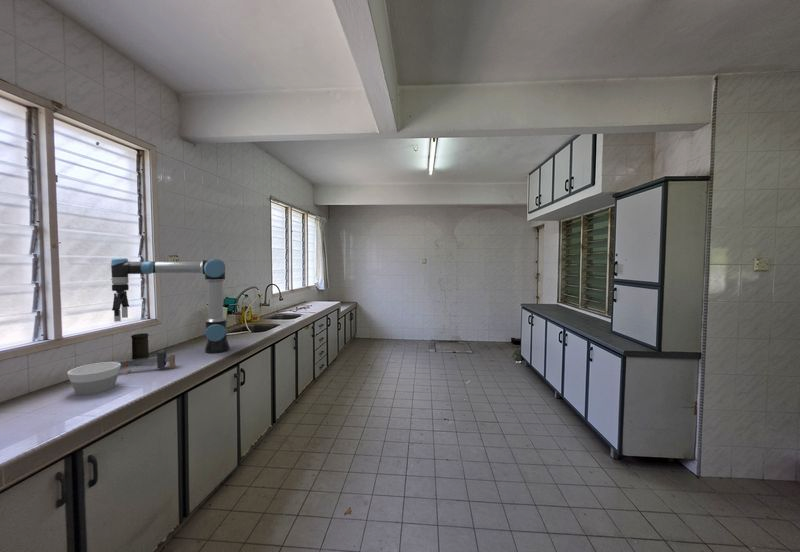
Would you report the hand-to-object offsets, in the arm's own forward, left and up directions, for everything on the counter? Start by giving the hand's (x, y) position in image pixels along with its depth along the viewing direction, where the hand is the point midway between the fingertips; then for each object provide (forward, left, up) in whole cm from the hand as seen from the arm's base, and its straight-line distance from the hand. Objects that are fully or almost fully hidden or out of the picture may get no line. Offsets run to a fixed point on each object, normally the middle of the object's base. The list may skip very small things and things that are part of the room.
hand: (121, 319), depth 193 cm
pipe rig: (-13, +17, -28) cm, 35 cm away
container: (-9, 0, -28) cm, 29 cm away
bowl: (+1, +39, -28) cm, 48 cm away
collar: (-22, +17, -26) cm, 38 cm away
